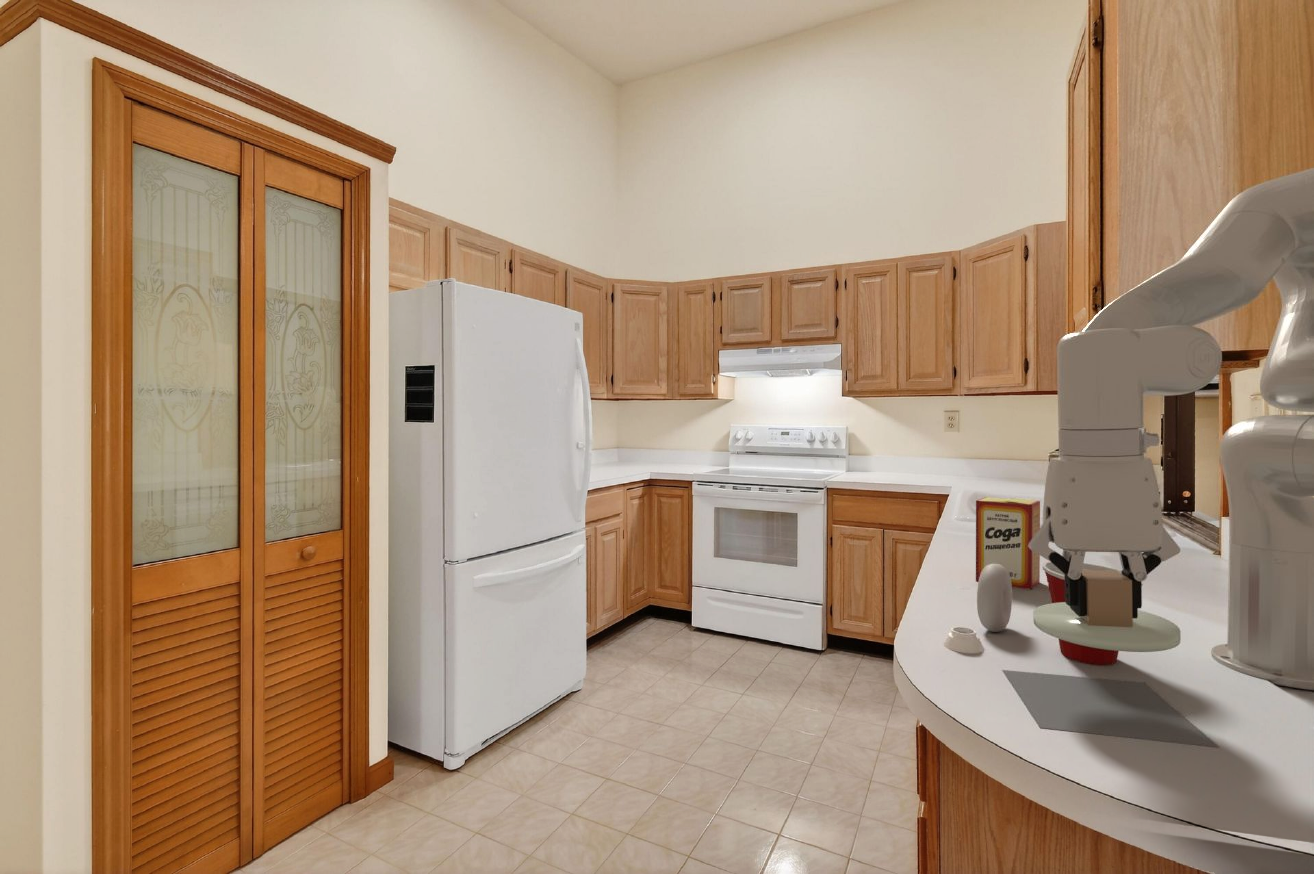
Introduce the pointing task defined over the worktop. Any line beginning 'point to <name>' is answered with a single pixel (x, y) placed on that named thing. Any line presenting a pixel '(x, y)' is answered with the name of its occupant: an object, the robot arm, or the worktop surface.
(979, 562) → the baking soda box
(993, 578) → the donut
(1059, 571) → the plastic cup
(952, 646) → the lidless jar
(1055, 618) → the lid
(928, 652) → the worktop surface
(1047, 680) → the mat
